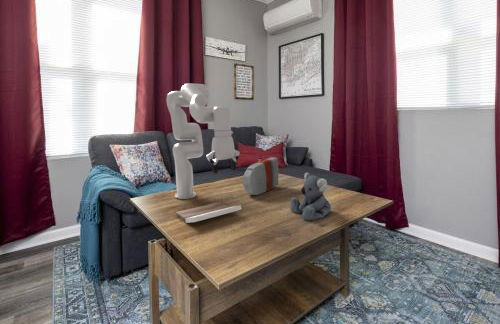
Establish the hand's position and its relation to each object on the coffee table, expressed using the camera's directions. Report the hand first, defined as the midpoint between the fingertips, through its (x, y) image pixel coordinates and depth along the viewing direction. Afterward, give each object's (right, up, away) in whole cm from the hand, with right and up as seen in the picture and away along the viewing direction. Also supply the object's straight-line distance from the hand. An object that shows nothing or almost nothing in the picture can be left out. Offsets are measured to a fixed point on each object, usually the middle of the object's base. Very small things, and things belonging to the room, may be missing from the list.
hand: (224, 171), depth 132 cm
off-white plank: (-5, -20, 0) cm, 21 cm away
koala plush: (+42, -21, +7) cm, 47 cm away
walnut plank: (-11, -21, +9) cm, 25 cm away
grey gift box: (+19, -14, +44) cm, 50 cm away
